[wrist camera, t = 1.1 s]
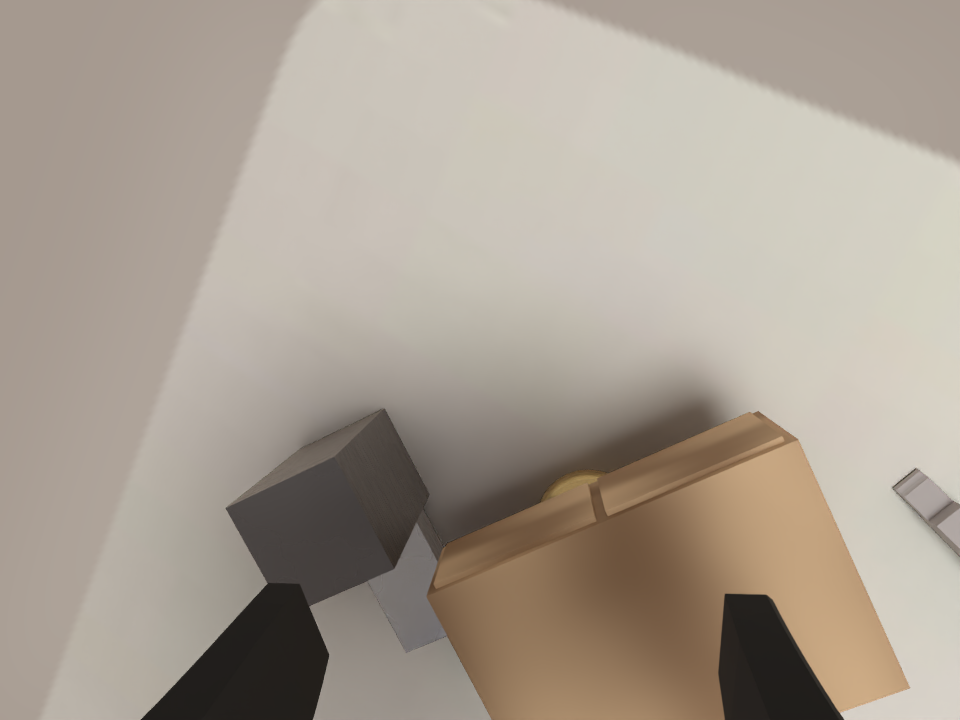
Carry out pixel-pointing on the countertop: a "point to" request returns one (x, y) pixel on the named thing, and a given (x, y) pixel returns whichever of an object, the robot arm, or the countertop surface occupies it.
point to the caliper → (932, 506)
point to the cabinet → (659, 585)
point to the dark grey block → (348, 525)
